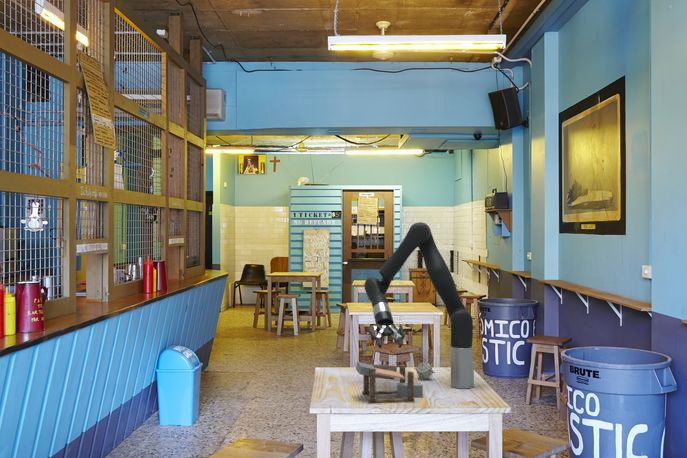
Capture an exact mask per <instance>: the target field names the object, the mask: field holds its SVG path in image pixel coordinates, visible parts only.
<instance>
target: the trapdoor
mask: <svg viewBox="0 0 687 458" xmlns="http://www.w3.org/2000/svg"><path fill="white" fill-rule="evenodd" d="M372 368H374V367H373V366H372V365H371V364H370V363H369V364H366V363H363V362H362V361H361V362H359V361H356V366H355V370H356V372H357V373H358V374H359V375H362V376H363V375H367V376H369V369H372ZM375 369H376V373H375V375H376V374H377V375H383V376H388V377H394V379H405V380H406V376H405V377H404V376H403V375H401V374H400V373H399V371H397V372H395V371H389V370H384V369H378V368H375Z"/></svg>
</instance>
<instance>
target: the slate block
mask: <svg viewBox="0 0 687 458" xmlns="http://www.w3.org/2000/svg"><path fill="white" fill-rule="evenodd" d="M423 389H424V387H423V384H422V382H414V399H415V398H417V399H418V398H420V399H421V398H424V394H423V393H424V390H423ZM396 390H397V394H396V397H397V399H398V398H407V382H405V383H399V382H396Z"/></svg>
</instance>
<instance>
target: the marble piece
mask: <svg viewBox="0 0 687 458" xmlns="http://www.w3.org/2000/svg"><path fill="white" fill-rule="evenodd" d="M371 365H372V366H373V367H374V368H378V369H384V370H389V371H395V372H398V371H397V370H398V368H397V366H396V365H386V364H384V365H383V364H371ZM376 378H378V379H383V380H384V379H385V380H394V379H395V378H394V377H388V376H383V375H377V374H376V375H375V379H376Z"/></svg>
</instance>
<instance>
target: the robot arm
mask: <svg viewBox="0 0 687 458" xmlns="http://www.w3.org/2000/svg"><path fill="white" fill-rule="evenodd" d="M417 248H418V250H419V251H420V253H421V255H422V258H423V261H424V266H425V269H426V273H427V275H428V277H429V280H430V281H431V283H432V286H433V288H434V289H435V291H436V293H437V294H438V296H439V298H440V299H441V300H442V302H443V304H444V306H445V308H446V311H447V314H448V316H449V321H450V387H451V388H455V389H472V388H475V366H474V364H473V336H474V331H473V330H474V323H473V321H474V320H473V317H472V314H471V313H470V312H469V311H468V309H467V308H466V307H465V304H464V303H463V301H462V299H461V297H460V295H459V292H458V289H457V286H456V282H455V280H454V278H453V275H452V272H451V271H450V269H449V267H448V265H447V263H446V261H445V259H444V257H443V255H442V254H441V253H440V251H439V249H438V247H437V245H436V242H435V239H434V236H433V233H432V230H431V227H430V226H429V225H428V224H427V223H425V222H421V221H420V222H415V223H413V224H412V225H411V226H410V227H409V230H408V231H407V233H406V235H405V236H404V238H403V240H402V241H401V243H400V244H399V245H398V247H397V248H396V249H395V251H394V252H393V253H392V254H391V255H390V256H389V258H388V259H387V260H386V261H385V262H384V263H383V265H382V266H381V267H380V269H379V272H378V273H379V275H380V276H381V279H379V278H376V277H374V276H370V277H368V278H367V279H366V280H365V282H364V292H365V293H366V295H367V298H368V299H369V301H370V302H371V306H372V311H373V312H372V313H373V319H374V323H375V325H376V326H375V325H374V324H371V325H370V328H369V333H370V338H371V340H372V341H374V340H375V341H376V346H377V348H379V349H382V346H383V343H382V340H381V337H382V336H383V337H392V338H393V339H396V342H397V346H398V348H399V349H400V348H402V347H403V340H404V339H405V336H406V334H405V331H404V328H403V325H402V324H399V325H395V323H394V319H393V315H392V312H391V311H392V310H391V308H390V306H389V302H388V298H387V296H386V295H385V294H386V293H387V292H388V290H389V287H390V285H391V283H392V281H393V279H394V278H395V276H396V275H397V274H398V273H399V271H400V270H401V269H402V268H403V266H404V265H405V263H406V261H407V260H408V259H409V257H410V256H411V255H412V253H414V251H415V250H416V249H417ZM376 331H377V332H378V333H377V335H376Z"/></svg>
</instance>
